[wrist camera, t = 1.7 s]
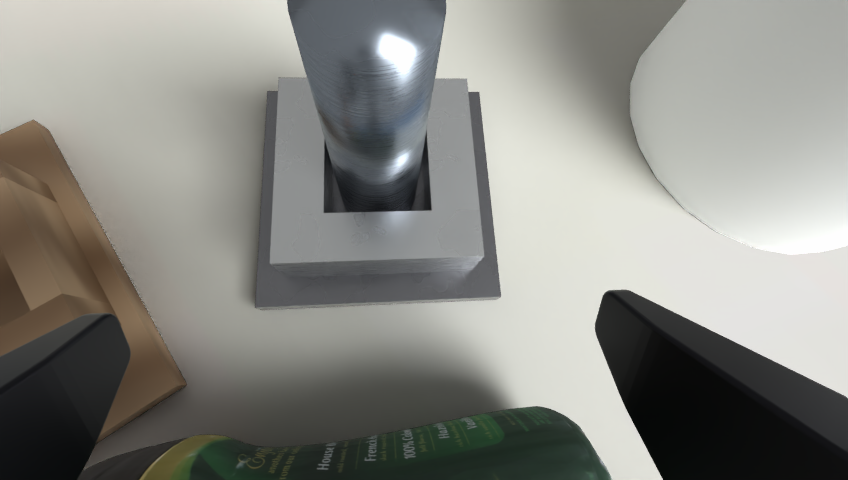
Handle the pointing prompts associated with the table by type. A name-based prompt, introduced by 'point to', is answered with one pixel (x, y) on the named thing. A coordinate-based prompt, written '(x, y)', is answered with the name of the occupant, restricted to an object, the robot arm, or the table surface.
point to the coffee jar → (383, 454)
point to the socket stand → (374, 214)
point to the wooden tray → (69, 270)
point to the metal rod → (371, 91)
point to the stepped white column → (751, 119)
